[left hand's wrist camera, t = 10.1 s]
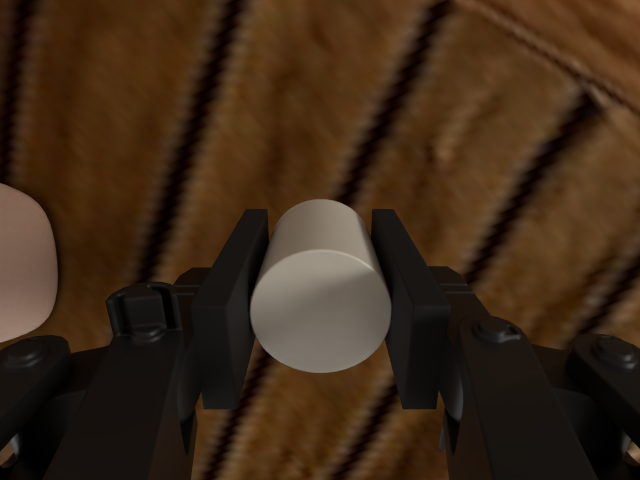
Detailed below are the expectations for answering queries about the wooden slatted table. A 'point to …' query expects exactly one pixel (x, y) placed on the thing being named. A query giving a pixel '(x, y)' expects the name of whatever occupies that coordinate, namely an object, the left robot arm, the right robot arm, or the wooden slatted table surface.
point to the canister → (320, 290)
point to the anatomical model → (25, 264)
